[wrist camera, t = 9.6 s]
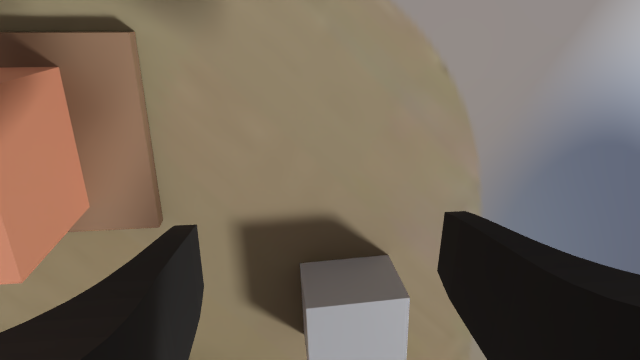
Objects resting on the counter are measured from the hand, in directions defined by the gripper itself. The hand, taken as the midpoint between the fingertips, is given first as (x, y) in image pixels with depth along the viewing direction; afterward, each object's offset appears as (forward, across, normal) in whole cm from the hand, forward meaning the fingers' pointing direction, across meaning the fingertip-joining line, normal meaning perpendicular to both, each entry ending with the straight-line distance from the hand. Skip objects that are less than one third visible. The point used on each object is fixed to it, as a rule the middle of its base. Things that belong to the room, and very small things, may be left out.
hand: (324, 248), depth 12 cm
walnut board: (+9, +12, -1) cm, 15 cm away
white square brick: (+10, -2, +9) cm, 13 cm away
